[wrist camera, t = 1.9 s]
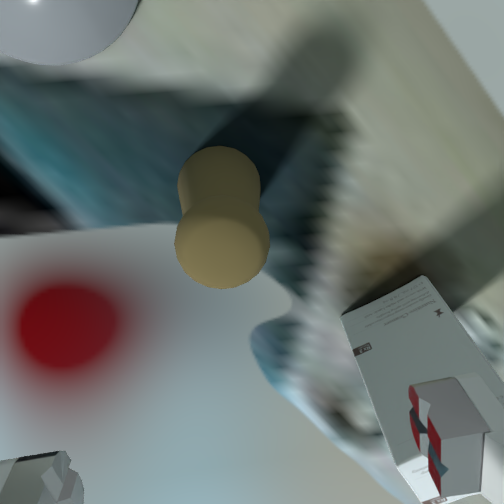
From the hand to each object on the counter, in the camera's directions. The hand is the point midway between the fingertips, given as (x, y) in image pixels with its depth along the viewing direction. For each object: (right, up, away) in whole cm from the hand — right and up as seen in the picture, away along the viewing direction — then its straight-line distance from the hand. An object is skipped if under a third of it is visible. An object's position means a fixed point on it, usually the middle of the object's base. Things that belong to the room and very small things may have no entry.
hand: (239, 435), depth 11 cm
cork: (-2, +9, +23) cm, 25 cm away
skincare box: (+12, -2, +30) cm, 32 cm away
